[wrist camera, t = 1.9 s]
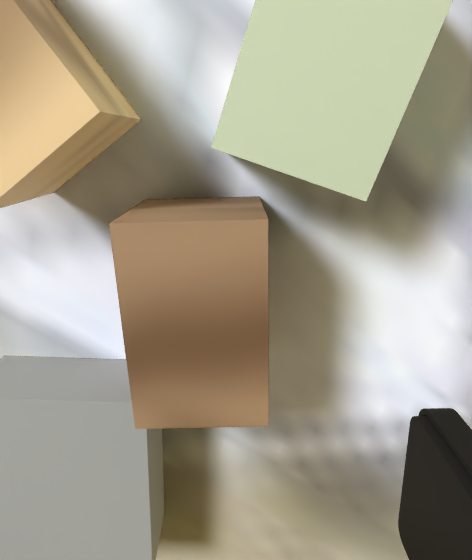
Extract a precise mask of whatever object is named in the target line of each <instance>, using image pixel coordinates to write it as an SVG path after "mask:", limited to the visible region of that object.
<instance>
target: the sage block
mask: <svg viewBox="0 0 472 560" xmlns="http://www.w3.org/2000/svg"><path fill="white" fill-rule="evenodd" d="M452 2H453V0H255V3H254V7H253V10H252V13H251V17H250V20H249V23H248V27H247V30H246V33H245V37H244V40H243V43H242V47H241V50H240V53H239V57H238V60H237V63H236V67H235V70H234V74H233V77H232V80H231V84H230V87H229V90H228V94H227V97H226V100H225V104H224V107H223V110H222V114H221V117H220V120H219V124H218V127H217V130H216V134H215V137H214V140H213V144H212V147H211V148H213V149H216V150H219V151H222V152H225V153H228V154H230V155H233V156H236V157H239V158H242V159H245V160H248V161H251V162H253V163H256V164H259V165H262V166H265V167H268V168H271V169H274V170H276V171H279V172H282V173H285V174H288V175H291V176H294V177H296V178H299V179H302V180H305V181H308V182H311V183H314V184H317V185H319V186H322V187H325V188H328V189H331V190H334V191H337V192H340V193H342V194H345V195H348V196H351V197H354V198H357V199H360V200H363V201H365V202H366V201H367V198H368V196H369V194H370V191H371V189H372V187H373V184H374V182H375V180H376V178H377V175H378V173H379V171H380V168H381V166H382V164H383V161H384V159H385V157H386V154H387V152H388V150H389V147H390V145H391V143H392V140H393V138H394V136H395V134H396V131H397V129H398V127H399V124H400V122H401V120H402V117H403V115H404V113H405V110H406V108H407V106H408V103H409V101H410V99H411V96H412V94H413V92H414V90H415V87H416V85H417V83H418V80H419V78H420V76H421V73H422V71H423V69H424V66H425V64H426V62H427V59H428V57H429V55H430V52H431V50H432V48H433V46H434V43H435V41H436V39H437V36H438V34H439V32H440V29H441V27H442V25H443V22H444V20H445V18H446V15H447V13H448V11H449V8H450V6H451V4H452Z"/></svg>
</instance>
